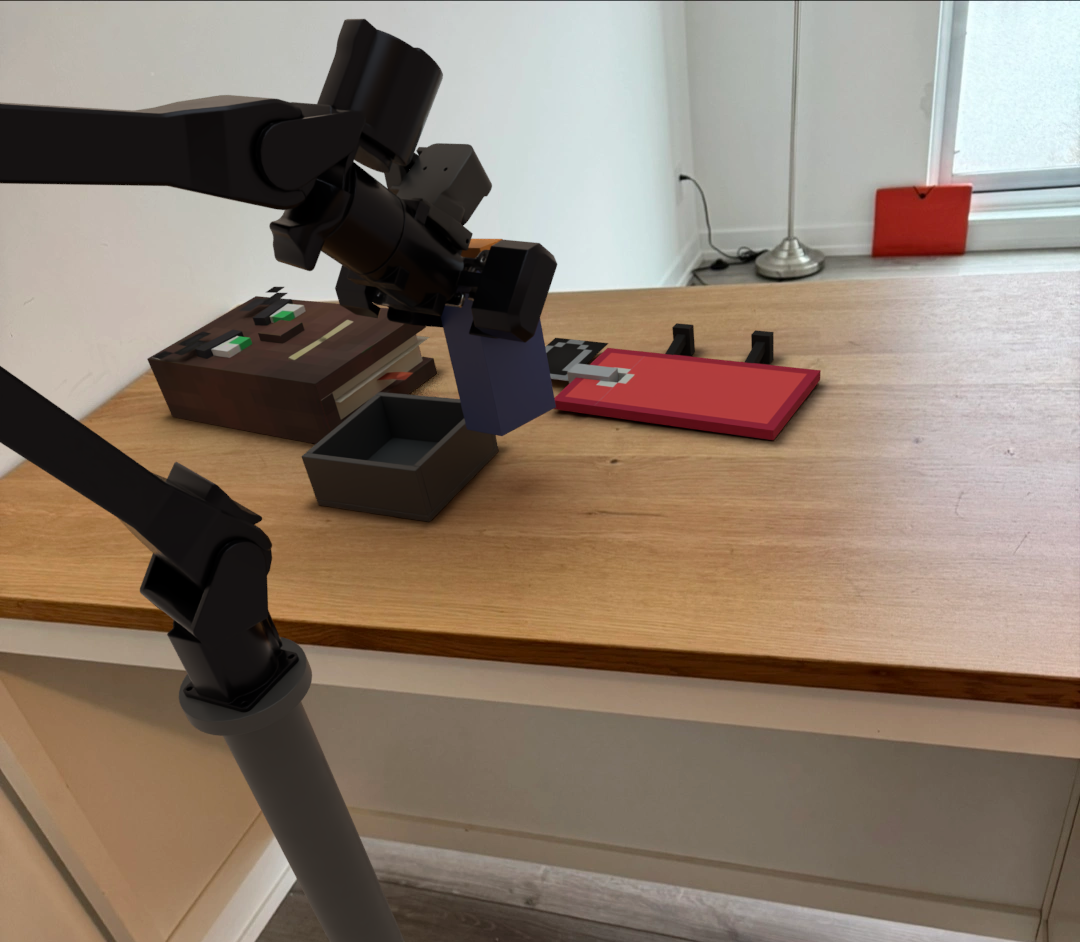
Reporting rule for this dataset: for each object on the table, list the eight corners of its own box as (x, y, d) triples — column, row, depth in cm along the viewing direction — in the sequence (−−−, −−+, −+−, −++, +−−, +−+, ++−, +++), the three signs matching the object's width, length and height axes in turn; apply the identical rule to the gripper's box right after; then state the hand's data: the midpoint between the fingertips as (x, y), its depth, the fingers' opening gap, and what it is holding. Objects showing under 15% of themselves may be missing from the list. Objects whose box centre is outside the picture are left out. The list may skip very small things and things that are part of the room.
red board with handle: (565, 338, 111) (491, 404, 103) (561, 312, 109) (485, 378, 101) (834, 366, 97) (773, 445, 88) (835, 337, 95) (773, 415, 87)
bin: (429, 522, 88) (415, 470, 84) (318, 505, 93) (300, 456, 90) (499, 451, 95) (488, 401, 92) (392, 439, 101) (378, 391, 97)
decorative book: (322, 383, 94) (121, 354, 109) (345, 457, 99) (150, 419, 114) (445, 300, 105) (246, 283, 120) (460, 370, 110) (268, 345, 125)
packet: (502, 436, 82) (463, 255, 74) (466, 429, 85) (425, 254, 77) (556, 407, 85) (524, 231, 77) (520, 401, 88) (486, 231, 80)
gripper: (515, 113, 63) (633, 236, 76) (317, 112, 73) (451, 221, 86) (459, 291, 64) (585, 382, 77) (272, 266, 74) (411, 350, 87)
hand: (504, 327), depth 82 cm, fingers closed on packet, 4 cm apart
